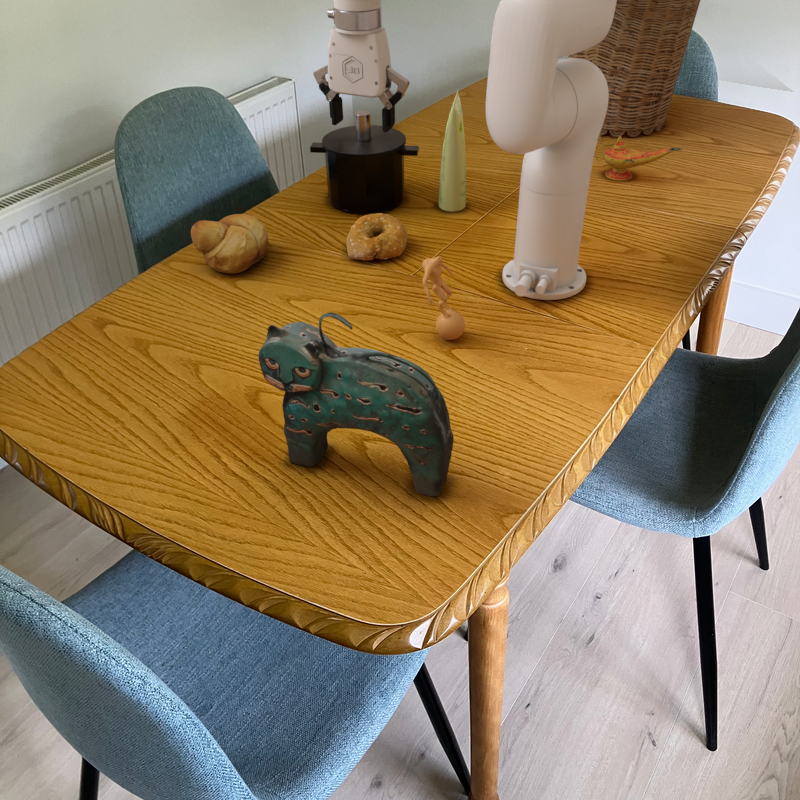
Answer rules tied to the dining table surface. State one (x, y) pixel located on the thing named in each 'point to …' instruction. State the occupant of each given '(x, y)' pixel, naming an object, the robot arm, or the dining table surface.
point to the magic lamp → (628, 158)
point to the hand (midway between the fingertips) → (362, 126)
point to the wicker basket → (642, 62)
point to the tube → (453, 162)
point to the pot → (365, 180)
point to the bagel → (376, 237)
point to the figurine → (450, 320)
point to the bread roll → (231, 242)
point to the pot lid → (363, 139)
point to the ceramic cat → (356, 399)
